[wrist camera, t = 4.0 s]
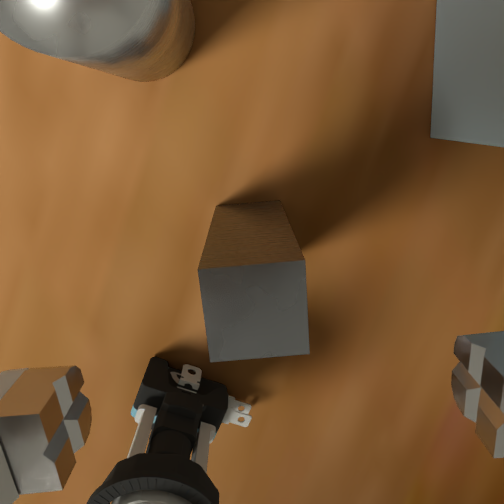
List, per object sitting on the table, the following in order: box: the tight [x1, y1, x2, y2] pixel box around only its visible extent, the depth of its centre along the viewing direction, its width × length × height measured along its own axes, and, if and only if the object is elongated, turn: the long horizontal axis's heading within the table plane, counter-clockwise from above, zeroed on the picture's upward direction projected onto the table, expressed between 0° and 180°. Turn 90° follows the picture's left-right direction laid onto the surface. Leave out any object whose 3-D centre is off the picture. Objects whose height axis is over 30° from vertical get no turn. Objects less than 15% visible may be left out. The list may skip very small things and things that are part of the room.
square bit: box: [198, 200, 310, 362], centre depth 17 cm, size 3×3×9 cm
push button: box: [87, 357, 252, 504], centre depth 20 cm, size 7×5×10 cm
